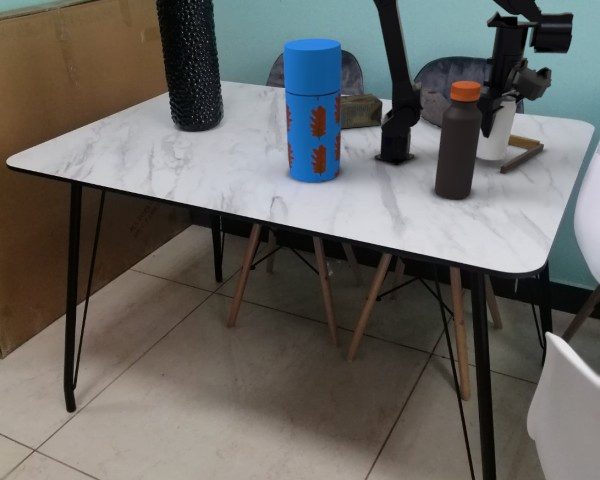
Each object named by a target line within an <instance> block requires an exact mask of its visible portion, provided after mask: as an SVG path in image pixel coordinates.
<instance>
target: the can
mask: <svg viewBox="0 0 600 480" xmlns="http://www.w3.org/2000/svg"><path fill="white" fill-rule="evenodd" d="M515 100H516V98H514V97H511V96H507V95H503V98H502V103H501V105H500V106H505V107H504V108H503V109H502V110H500V111H499V112H498V113H497V114H496V117H495V121H494V124H493V128H492V131H491V133H490V136H489V138H486V137H483V134H482V131H481V128H480V134H479V140H478V147H477V153H476V159H479V160H482V161H487V162H500V161H502V160H504V159H505V157H506V153H507V149H508V146H509V144H508V141H509V137H510V134H512V133H511V132H512V130H513V129H512V128H513V125H514V120H515V117H516V111H517V107H516V104H515Z"/></svg>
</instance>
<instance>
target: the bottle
mask: <svg viewBox="0 0 600 480" xmlns="http://www.w3.org/2000/svg"><path fill="white" fill-rule="evenodd" d="M481 87H482V84H481V83H479V82H478V81H477V82H476V81H472V80H461V81H455V82H453V83H452V84H451V87H450V101H451V104H450V107H448V108H447V109H446V110H445V111H444V113H443V118H442V127H440V136H439V146H438V155H437V164H436V174H435V180H434V181H435V182H434V192H435V194H436V195H437V196H439V197H441V198H443V199H448V200H460V199H465V198H467V197H468V196H470V195H471V192H472V185H473V179H474V173H475V166H476V161H477V160H476V159H477V158H476V153H477V147H478V140H479V134H480V127H481V120H482V113H481V112H480V110H479V109H478V108H477V106H476V104H477V102H478V101H479V97H480V90H481Z"/></svg>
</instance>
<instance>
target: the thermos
mask: <svg viewBox="0 0 600 480" xmlns="http://www.w3.org/2000/svg"><path fill="white" fill-rule="evenodd" d="M342 54H343V53H342V44H341V42H340V41H338V40H335V39H329V38H303V39H302V38H301V39H296V40H291V41H288V42H285V43H283V55H282V56H283V76H284V77H283V78H284V97H285V98H284V101H285V121H286V143H287V146H286V147H287V160H288V169H289V176H290V177H291V178H292V179H294V180H297V181H299V182H304V183H323V182H328V181H331V180H334V179H335V178H337V177H338V176H339V174H340V170H341V156H342V155H341V149H342V146H341V145H342V144H341V143H342V139H341V138H342V128H341V96H342V61H343V59H342V57H343V55H342Z"/></svg>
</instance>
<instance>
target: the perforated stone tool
mask: <svg viewBox="0 0 600 480" xmlns="http://www.w3.org/2000/svg"><path fill="white" fill-rule="evenodd" d="M422 95H423V97H424V99H425V103H424V109H423V110H422V111H421V116H420V117H422V118H423V119H424V120H426V121H428V122H429V123H431V124H433V125H436V126H438V127H440V128H441V127H442V118H443V113H444V111H445V110H446V109H447V108H448V107H450V106H451V104H450V102H449V101H448V99H446V97H445V96H444V95H443V94H441V92H439V91H437V90H435V89H433V88H431V87H424V88H423V87H422Z"/></svg>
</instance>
